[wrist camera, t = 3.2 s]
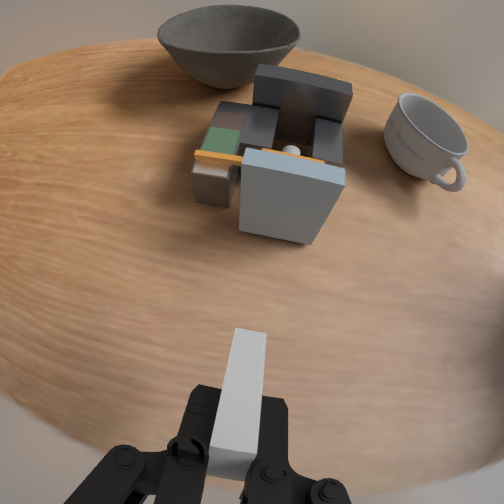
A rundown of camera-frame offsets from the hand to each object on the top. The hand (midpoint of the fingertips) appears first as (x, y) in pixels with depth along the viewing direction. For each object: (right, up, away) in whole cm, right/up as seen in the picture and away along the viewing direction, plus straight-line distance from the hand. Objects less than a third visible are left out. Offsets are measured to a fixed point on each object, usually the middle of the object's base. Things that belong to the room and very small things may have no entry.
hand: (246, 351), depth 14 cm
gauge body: (+2, +15, +18) cm, 23 cm away
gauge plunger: (+3, +10, +15) cm, 19 cm away
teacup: (+22, +16, +20) cm, 34 cm away
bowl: (-3, +31, +24) cm, 39 cm away
